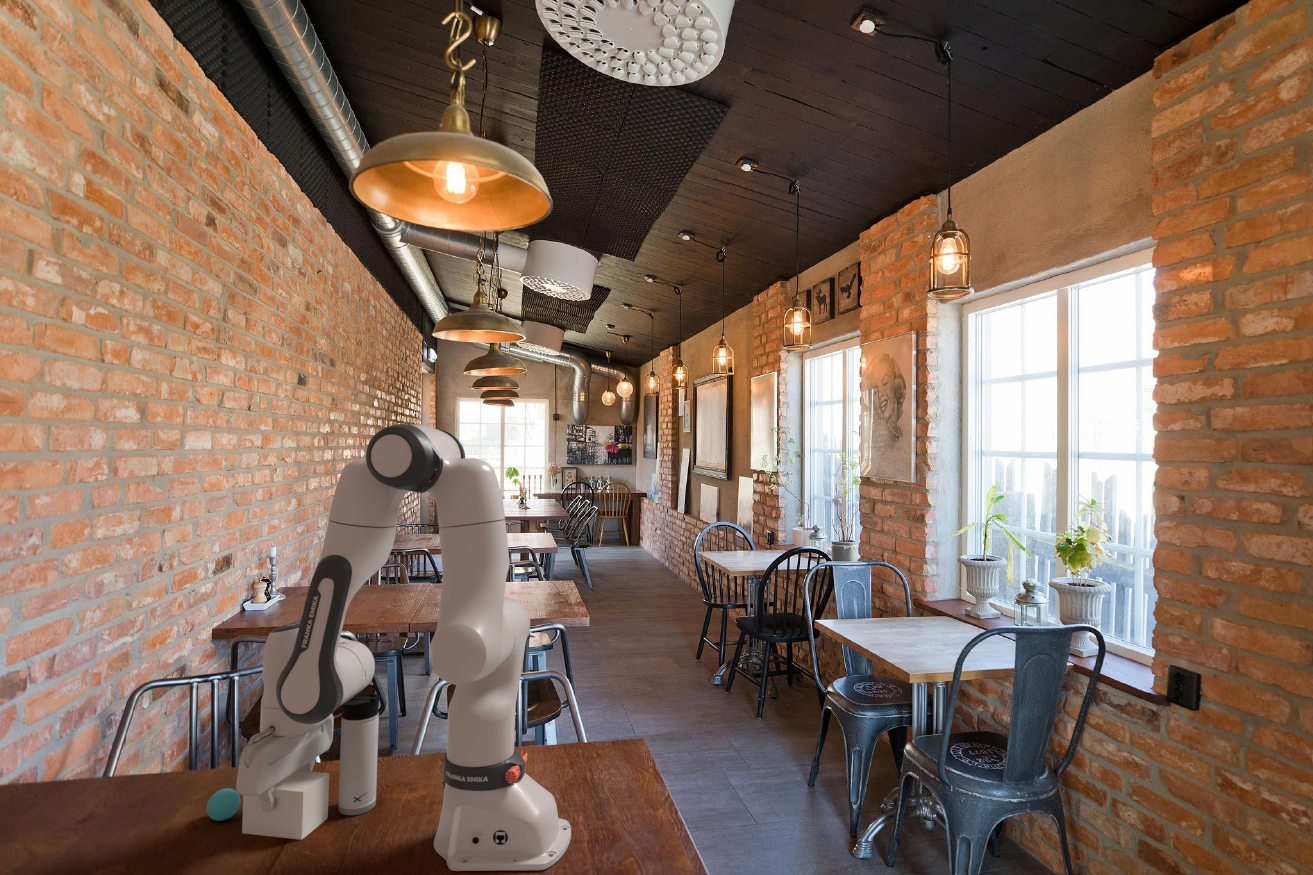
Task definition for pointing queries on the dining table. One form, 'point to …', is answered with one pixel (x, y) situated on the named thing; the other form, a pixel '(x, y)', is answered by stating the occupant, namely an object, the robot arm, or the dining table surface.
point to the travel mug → (358, 754)
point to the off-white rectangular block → (290, 807)
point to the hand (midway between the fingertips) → (286, 797)
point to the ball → (223, 804)
